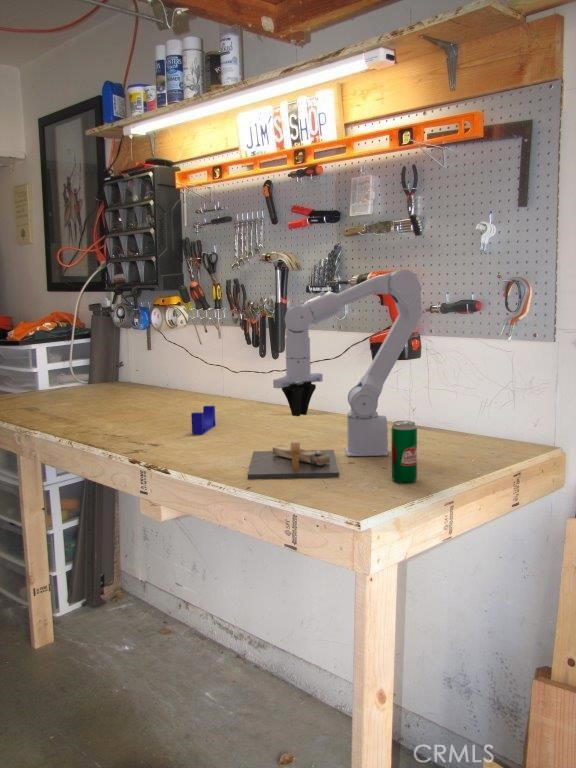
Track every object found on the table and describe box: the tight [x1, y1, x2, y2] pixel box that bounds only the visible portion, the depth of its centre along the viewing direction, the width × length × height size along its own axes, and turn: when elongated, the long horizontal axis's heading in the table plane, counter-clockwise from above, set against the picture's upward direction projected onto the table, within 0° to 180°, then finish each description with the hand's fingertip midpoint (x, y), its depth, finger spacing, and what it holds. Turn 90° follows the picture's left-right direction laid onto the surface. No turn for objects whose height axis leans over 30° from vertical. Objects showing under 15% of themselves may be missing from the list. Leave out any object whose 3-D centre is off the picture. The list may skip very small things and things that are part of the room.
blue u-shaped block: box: [191, 405, 217, 435], centre depth 193 cm, size 12×4×6 cm, turn 169°
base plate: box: [247, 442, 340, 480], centre depth 152 cm, size 19×20×6 cm
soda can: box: [391, 420, 418, 484], centre depth 138 cm, size 5×5×12 cm
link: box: [272, 444, 330, 465], centre depth 153 cm, size 15×4×2 cm, turn 44°
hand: (299, 415), depth 161 cm, fingers closed
